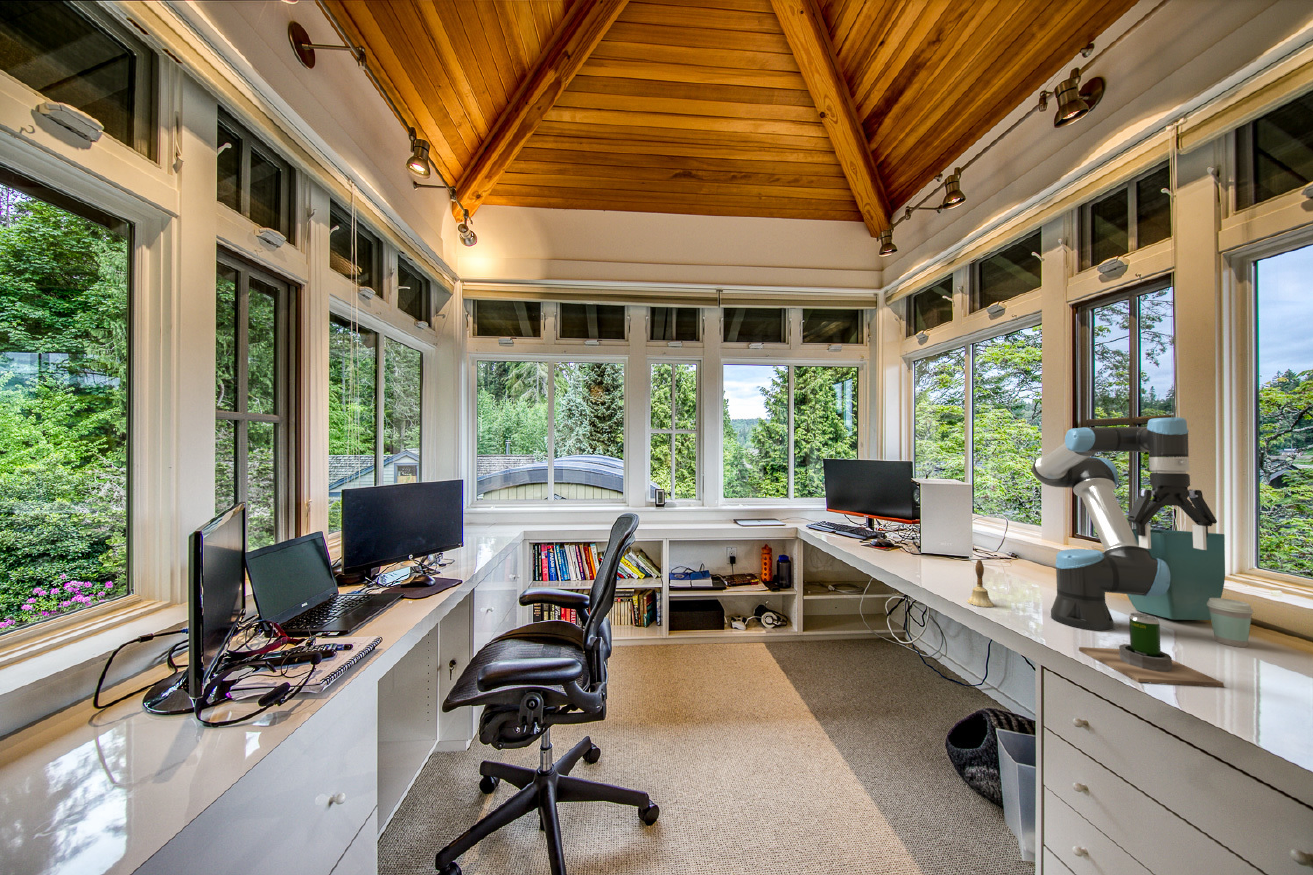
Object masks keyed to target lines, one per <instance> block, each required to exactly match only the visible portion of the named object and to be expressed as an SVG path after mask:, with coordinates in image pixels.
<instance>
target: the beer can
mask: <svg viewBox="0 0 1313 875" xmlns="http://www.w3.org/2000/svg"><path fill="white" fill-rule="evenodd" d="M1128 618H1129V638H1130V639H1129V641H1130V642H1129V644H1130V646H1131V652H1133V653H1136V654H1140V655H1143V656H1149V657H1157V658H1161V651H1162V650H1161V627H1160V625H1161V624H1160V622H1159V618H1158V616H1157V617H1156V616H1155V615H1152V614H1147V613H1141V612H1140V613H1138V612H1132V613H1130V616H1129V617H1128Z"/></svg>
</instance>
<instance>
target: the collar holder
mask: <svg viewBox="0 0 1313 875" xmlns="http://www.w3.org/2000/svg"><path fill="white" fill-rule="evenodd" d="M1078 651H1079V652H1080V653H1082V654H1084V655H1086V656H1088V657H1090V658H1092V659H1094V660H1096V661H1098V662H1099V663H1101V664H1102V665H1103V664H1104V665H1105V666H1107V667H1109V668H1111V669H1112V670H1114V671H1116V672H1117V673H1120V674H1122V675H1124V676H1125V677H1128V678H1130V679H1131V680H1133V681H1135V682H1136V683H1140V682H1151V683H1150V684H1158V683H1167V684H1166V685H1176V684H1180V685H1181V686H1197V687H1213V686H1215V687H1216V688H1217V687H1218V688H1224V687H1225V686H1224V682H1222V681H1220V680H1219V679H1216V678H1213V677H1211V676H1209V675H1207V674H1205V673H1202V672H1200V671H1199V670H1195V669H1194V668H1192V667H1189V666H1188V665H1184V664H1182V663H1180V662H1177V661H1175V660H1174V659H1173V658H1172V656H1171V655H1170V654H1168V653H1166V652H1165V651H1162V650H1161V658H1157V657H1149V656H1143V655H1140V654H1136V653H1133V652H1131V646H1130V643H1129V644H1128V643H1124V644H1123V643H1122V644H1119V645H1118V648H1110V647H1108V648H1104V647H1084V646H1078ZM1180 685H1179V686H1180ZM1199 685H1200V686H1199Z"/></svg>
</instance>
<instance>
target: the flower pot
mask: <svg viewBox="0 0 1313 875" xmlns="http://www.w3.org/2000/svg"><path fill="white" fill-rule="evenodd" d="M1131 530H1132V532H1133V534H1134V536H1135V538H1136V540H1137V542H1138V544H1139V535H1137V534H1136V528H1131ZM1150 534H1151V549H1147V548H1146V549H1147V550H1148V551H1149V552H1150V554H1151V556H1152V558H1158V559H1161V560H1163V561H1165V562H1166V564H1167V565H1168V567H1169V571H1170V585H1169V588H1168V590H1167V592H1166V593H1165V594H1163V595H1161V596H1142V595H1131V594H1126V595H1127V598H1128V599H1129V601H1130V602H1131V604H1132V607H1134V609H1135V610H1136V611H1137V612H1140V613H1141V612H1142V613H1144V614H1148V615H1152V616H1157V617H1161V618H1166V619H1169V620H1181V621H1182V620H1184V621H1185V620H1186V621H1211V617H1210V612H1209V607H1208V606H1207V602H1208V600H1209V598H1222V595H1223V591H1224V588H1225V587H1224V586H1225V581H1226V562H1225V561H1226V558H1225V557H1226V556H1225V554H1226V551H1225V550H1226V548H1225V546H1226V545H1225V542H1226V541H1225V540H1226V539H1225V538H1226V537H1225V536H1226V535H1225V534H1224V533H1217V532H1216V533H1213V532H1208V537H1206V546H1207V550H1202V549H1197V548H1193V531H1187V530H1172V529H1154V528H1153V529H1152V528H1150Z"/></svg>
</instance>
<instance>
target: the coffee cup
mask: <svg viewBox="0 0 1313 875" xmlns="http://www.w3.org/2000/svg"><path fill="white" fill-rule="evenodd" d="M1207 606H1208V607H1209V612H1210V617H1211V620H1210V621H1211V626H1212V631H1213V634H1214V635H1213V636H1214V639H1215V640H1214V641H1215V642H1218V643H1219V642H1220V643H1219V644H1222V645H1226V646H1230V647H1235V646H1236V647H1237V648H1247V647H1248V645H1249V644H1248V643H1249V638H1250V637H1249V635H1250V631H1251V630H1250V629H1251V622H1252V614H1253V613H1254V610H1253V608H1252V606H1251V604H1249V603H1247V602H1243V601H1240V600H1235V599H1230V598H1229V599H1228V598H1225V597H1224V598H1223V597H1221V598H1209V600H1208V602H1207Z"/></svg>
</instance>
